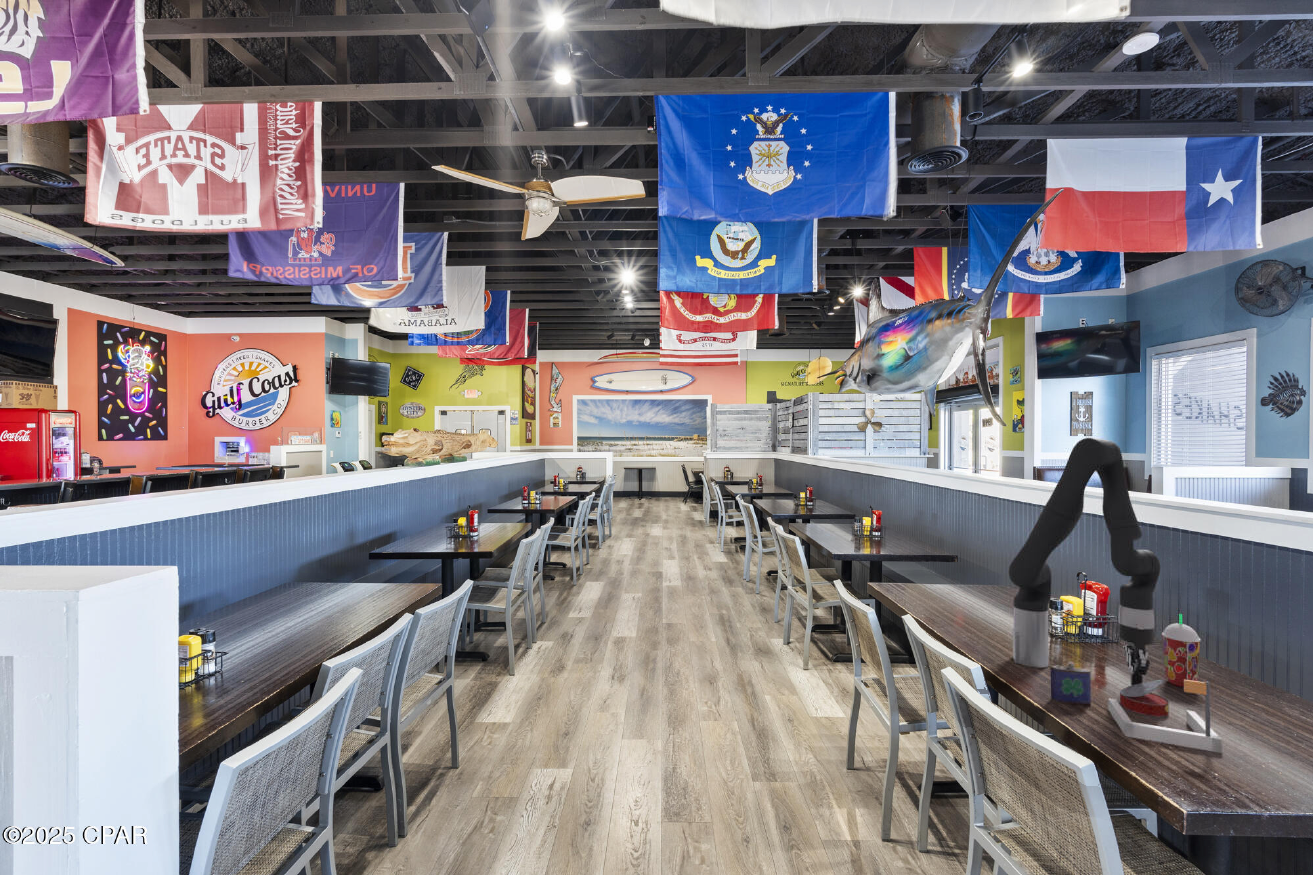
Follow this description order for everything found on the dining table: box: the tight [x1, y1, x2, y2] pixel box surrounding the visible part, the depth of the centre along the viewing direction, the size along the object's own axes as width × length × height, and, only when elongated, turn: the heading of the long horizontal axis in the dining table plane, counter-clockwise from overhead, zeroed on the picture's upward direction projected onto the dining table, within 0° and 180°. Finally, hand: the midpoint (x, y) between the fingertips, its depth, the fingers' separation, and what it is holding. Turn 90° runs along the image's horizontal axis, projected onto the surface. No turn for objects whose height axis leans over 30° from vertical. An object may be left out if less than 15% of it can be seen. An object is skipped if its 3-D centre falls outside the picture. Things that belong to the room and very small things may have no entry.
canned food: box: [1119, 679, 1170, 718], centre depth 153 cm, size 11×10×10 cm
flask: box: [1049, 661, 1092, 706], centre depth 156 cm, size 9×3×11 cm, turn 74°
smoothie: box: [1161, 613, 1201, 688], centre depth 170 cm, size 8×8×20 cm
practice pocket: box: [1107, 680, 1223, 754], centre depth 141 cm, size 17×16×15 cm
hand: (1136, 687), depth 159 cm, fingers closed
